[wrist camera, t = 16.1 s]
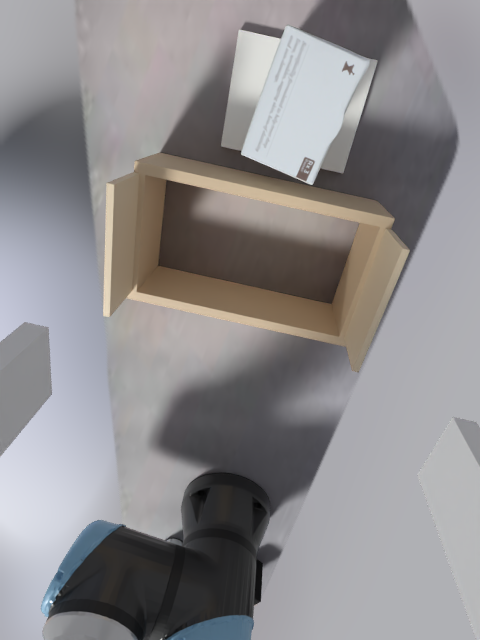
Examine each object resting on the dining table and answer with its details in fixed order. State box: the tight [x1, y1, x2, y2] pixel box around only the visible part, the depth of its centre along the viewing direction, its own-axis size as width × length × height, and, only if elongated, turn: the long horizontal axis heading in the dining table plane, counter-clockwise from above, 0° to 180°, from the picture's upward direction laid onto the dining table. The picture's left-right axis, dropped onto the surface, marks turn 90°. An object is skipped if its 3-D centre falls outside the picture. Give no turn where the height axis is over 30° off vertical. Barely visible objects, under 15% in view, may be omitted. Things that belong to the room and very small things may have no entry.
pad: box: [221, 30, 378, 173], centre depth 39 cm, size 10×13×1 cm
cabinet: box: [103, 153, 410, 372], centre depth 40 cm, size 14×24×14 cm, turn 79°
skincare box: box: [241, 25, 370, 185], centre depth 32 cm, size 8×6×15 cm
